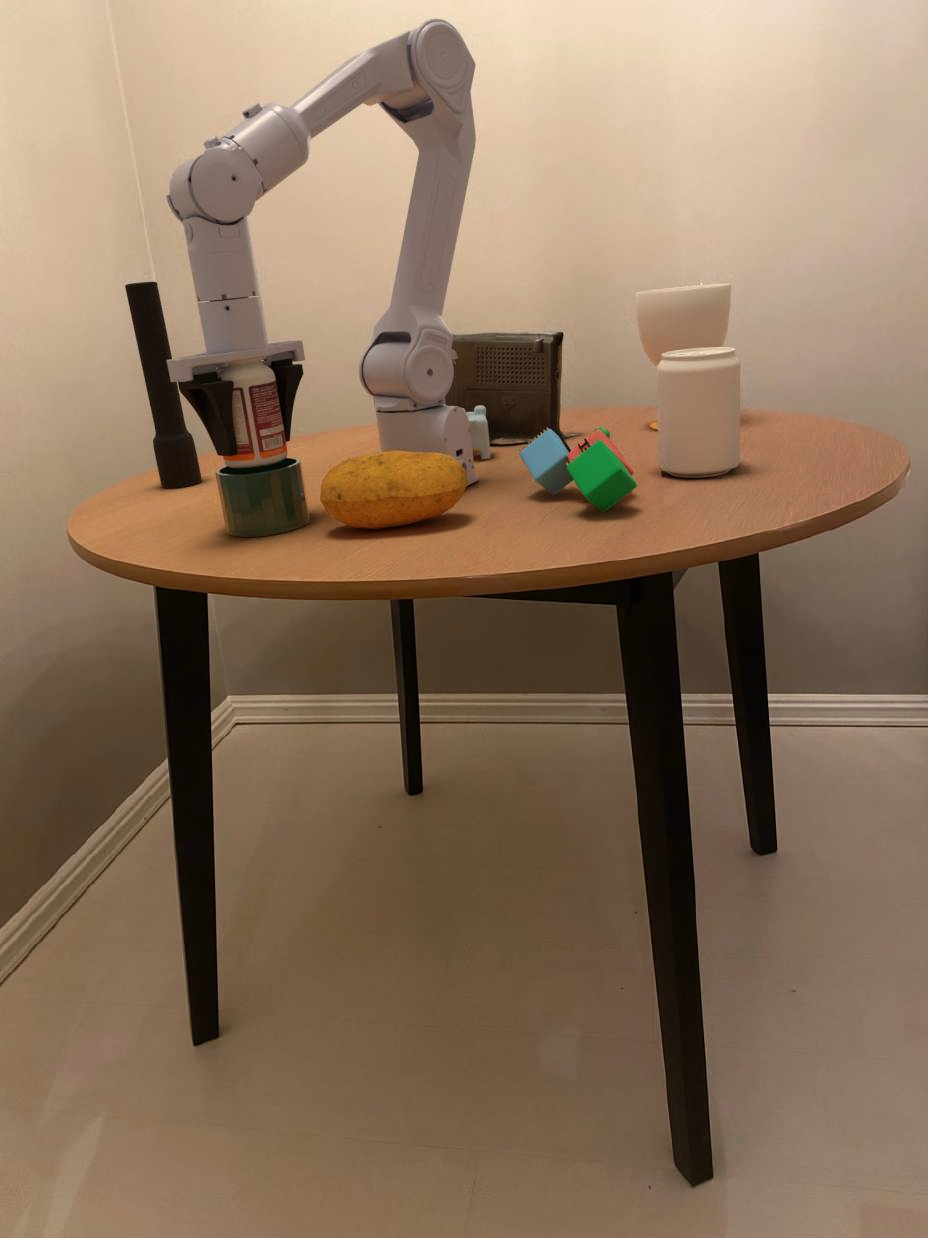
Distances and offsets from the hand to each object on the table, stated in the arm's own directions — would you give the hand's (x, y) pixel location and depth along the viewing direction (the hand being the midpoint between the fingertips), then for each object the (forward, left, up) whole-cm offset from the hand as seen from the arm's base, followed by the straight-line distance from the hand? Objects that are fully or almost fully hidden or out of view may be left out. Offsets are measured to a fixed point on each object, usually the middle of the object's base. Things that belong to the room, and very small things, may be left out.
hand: (255, 448), depth 90 cm
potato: (-14, -2, -8) cm, 16 cm away
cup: (-27, -53, -8) cm, 60 cm away
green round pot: (0, 0, -8) cm, 8 cm away
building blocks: (-28, -12, -8) cm, 31 cm away
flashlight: (+27, -16, -8) cm, 32 cm away
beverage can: (-36, -26, -8) cm, 45 cm away
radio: (-2, -44, -8) cm, 45 cm away
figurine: (-6, -33, -8) cm, 34 cm away
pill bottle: (0, 0, -2) cm, 2 cm away
